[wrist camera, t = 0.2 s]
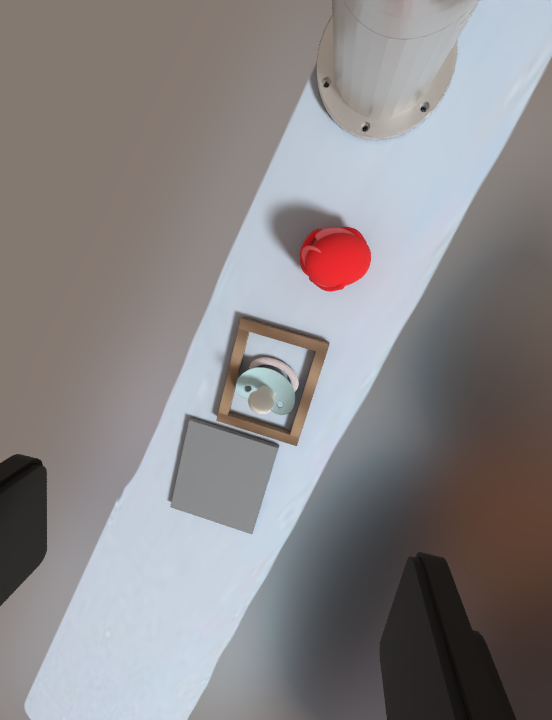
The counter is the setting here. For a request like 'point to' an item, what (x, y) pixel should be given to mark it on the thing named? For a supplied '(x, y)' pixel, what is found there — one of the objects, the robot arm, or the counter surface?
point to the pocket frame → (234, 369)
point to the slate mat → (223, 475)
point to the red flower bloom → (335, 257)
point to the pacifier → (268, 387)
